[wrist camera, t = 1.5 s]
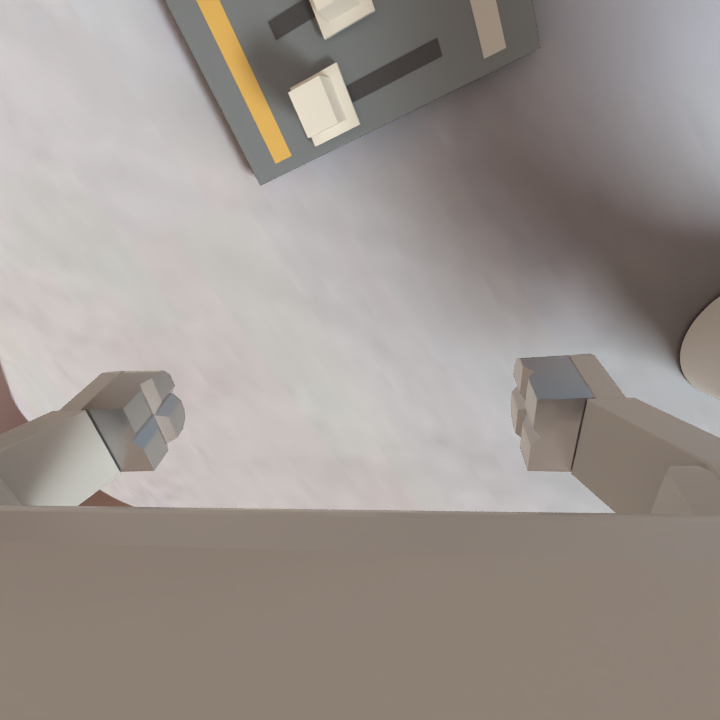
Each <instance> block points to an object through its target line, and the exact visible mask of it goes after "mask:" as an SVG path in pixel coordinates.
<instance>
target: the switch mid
mask: <svg viewBox="0 0 720 720" xmlns="http://www.w3.org/2000/svg"><path fill="white" fill-rule="evenodd" d="M309 1H310V3H311V6H312V9H313V11H314V14H315V16H316V19H317V22H318V24H319V27H320V29H321V32H322V35H323V37H324V39H325V40H326V39H328V38H330V37H332V36H333V35H335V34H337V33H338V32H340V31H342V30H344V29H345V28H347V27H349V26H350V25H352V24H354V23H355V22H357V21H359V20H361V19H362V18H364V17H366V16H367V15H369V14H371V13H373V12H374V11H375V8H374V5H373V2H372V0H309Z"/></svg>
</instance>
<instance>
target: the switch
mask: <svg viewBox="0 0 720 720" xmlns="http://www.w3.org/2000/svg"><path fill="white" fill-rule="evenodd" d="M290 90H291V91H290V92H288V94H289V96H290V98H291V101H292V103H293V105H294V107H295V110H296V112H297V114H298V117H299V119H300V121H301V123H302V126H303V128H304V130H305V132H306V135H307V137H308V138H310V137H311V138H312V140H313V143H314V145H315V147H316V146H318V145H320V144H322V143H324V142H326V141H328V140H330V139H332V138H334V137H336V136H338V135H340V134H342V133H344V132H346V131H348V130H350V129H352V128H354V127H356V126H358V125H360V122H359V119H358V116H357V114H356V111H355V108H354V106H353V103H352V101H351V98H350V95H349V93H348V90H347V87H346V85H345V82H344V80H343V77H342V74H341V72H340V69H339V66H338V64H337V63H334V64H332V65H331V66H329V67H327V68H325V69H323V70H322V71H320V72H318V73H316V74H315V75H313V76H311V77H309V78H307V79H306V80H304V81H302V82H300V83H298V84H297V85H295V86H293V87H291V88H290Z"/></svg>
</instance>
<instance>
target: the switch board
mask: <svg viewBox="0 0 720 720" xmlns="http://www.w3.org/2000/svg"><path fill="white" fill-rule="evenodd" d="M165 1H166V3H167V5H168V7H169V9H170V11H171V13H172V15H173V17H174V19H175V21H176V23H177V25H178V26H179V28H180V30H181V32H182V34H183V36H184V38H185V40H186V42H187V44H188V46H189V48H190V50H191V52H192V54H193V56H194V58H195V60H196V61H197V63H198V65H199V67H200V69H201V71H202V73H203V75H204V77H205V79H206V81H207V83H208V85H209V87H210V89H211V91H212V93H213V95H214V97H215V98H216V100H217V102H218V104H219V106H220V108H221V110H222V112H223V114H224V116H225V118H226V120H227V122H228V124H229V126H230V128H231V130H232V132H233V133H234V135H235V137H236V139H237V141H238V143H239V145H240V147H241V149H242V151H243V153H244V155H245V157H246V159H247V161H248V163H249V165H250V167H251V169H252V170H253V172H254V174H255V176H256V178H257V180H258V182H259V184H260V186H261V185H263V184H265V183H267V182H269V181H271V180H273V179H275V178H277V177H279V176H281V175H283V174H285V173H287V172H289V171H291V170H293V169H295V168H297V167H299V166H301V165H304V164H306V163H308V162H310V161H312V160H314V159H316V158H318V157H320V156H322V155H324V154H326V153H328V152H330V151H332V150H334V149H336V148H338V147H340V146H342V145H344V144H346V143H348V142H350V141H352V140H354V139H356V138H358V137H360V136H362V135H365V134H367V133H369V132H371V131H373V130H375V129H377V128H379V127H381V126H383V125H385V124H387V123H389V122H391V121H393V120H395V119H397V118H399V117H401V116H403V115H405V114H407V113H409V112H411V111H413V110H415V109H417V108H419V107H421V106H423V105H426V104H428V103H430V102H432V101H434V100H436V99H438V98H440V97H442V96H444V95H446V94H448V93H450V92H452V91H454V90H456V89H458V88H460V87H462V86H464V85H466V84H468V83H470V82H472V81H474V80H476V79H478V78H480V77H482V76H484V75H487V74H489V73H491V72H493V71H495V70H497V69H499V68H501V67H503V66H505V65H507V64H509V63H511V62H513V61H515V60H517V59H519V58H521V57H523V56H525V55H527V54H529V53H531V52H533V51H535V50H537V49H539V48H541V47H540V42H539V36H538V31H537V25H536V20H535V15H534V9H533V4H532V0H372V2H373V5H374V8H375V11H374V12H373V13H371V14H369V15H367V16H366V17H364V18H362V19H361V20H359V21H357V22H355V23H354V24H352V25H350V26H349V27H347V28H345V29H344V30H342V31H340V32H338V33H337V34H335V35H333V36H332V37H330V38H328V39H326V40H325V39H324V37H323V35H322V32H321V29H320V27H319V24H318V22H317V19H316V16H315V14H314V11H313V9H312V6H311V3H310V1H309V0H165ZM334 63H337V64H338V66H339V69H340V72H341V74H342V77H343V80H344V82H345V85H346V87H347V90H348V93H349V95H350V98H351V101H352V103H353V106H354V108H355V111H356V114H357V116H358V119H359V122H360V125H358V126H356V127H354V128H352V129H350V130H348V131H346V132H344V133H342V134H340V135H338V136H336V137H334V138H332V139H330V140H328V141H326V142H324V143H322V144H320V145H318V146H316V147H315V145H314V143H313V140H312V138H311V137H310V138H308V137H307V135H306V132H305V130H304V128H303V126H302V123H301V121H300V119H299V117H298V114H297V112H296V110H295V107H294V105H293V103H292V101H291V98H290V96H289V94H288V92H290V91H291V90H290V88H291V87H293V86H295V85H297V84H298V83H300V82H302V81H304V80H306V79H307V78H309V77H311V76H313V75H315V74H316V73H318V72H320V71H322V70H323V69H325V68H327V67H329V66H331V65H332V64H334Z"/></svg>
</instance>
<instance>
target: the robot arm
mask: <svg viewBox="0 0 720 720" xmlns="http://www.w3.org/2000/svg"><path fill="white" fill-rule="evenodd" d="M680 364H681V369H682V371H683V374H684V376H685V377H686V379H687V380H688V381H689V382H690V383H691V384H692V385H693V386H694V387H695V388H697V389H698V390H700V391H702V392H704V393H706V394H708V395H711V396H713V397H715V398H716V399H718V400H720V296H719V297H718V298H717V299H716V300H714V301H713V302H712V303H711V304H710V305H708V306H707V307H706V308H705V309H704V310H703V311H702V312H701V314H700V315H699V316H698V317H697V318H696V319H695V321H694V322H693V323H692V325H691V326H690V328H689V330H688V331H687V333H686V335H685V338H684V340H683V343H682V346H681V351H680ZM514 378H515V381H516V383H517V387H516V388H515V389H514V390H513V391H512V396H511V417H512V422H513V427H514V430H515V433H516V434H517V435H519V436H520V437H521V444H520V449H521V452H522V455H523V458H524V461H525V464H526V468H527V471H557V472H572V473H571V474H572V475H573V476H575V477H576V478H577V479H578V480H579V481H580V482H581V483H582V484H584V485H585V486H586V487H587V488H588V489H589V490H590V491H592V492H593V493H594V494H595V495H596V496H597V497H598V498H600V499H601V500H602V501H603V502H604V503H605V504H606V505H608V506H609V507H610V508H611V509H612V510H613V511H614V512H615V513H545V512H470V511H399V510H328V509H244V508H169V507H95V506H78V505H79V504H81V503H82V502H83V501H85V500H86V499H87V498H89V497H90V496H91V495H92V494H94V493H95V492H96V491H98V490H99V489H101V488H102V487H103V486H104V485H106V484H107V483H108V482H110V481H111V480H112V479H114V478H115V477H116V476H118V475H119V474H120V472H127V471H154V470H155V469H156V467H157V466H158V464H159V463H160V462H161V460H162V459H163V457H164V456H165V454H166V453H167V452H168V447H167V444H168V443H169V442H171V441H172V440H174V439H175V438H177V437H178V435H179V434H180V432H181V431H182V429H183V426H184V421H185V412H184V407H183V404H182V402H181V400H180V399H179V398H178V397H176V396H175V395H174V394H173V393H172V392H173V389H174V387H175V385H174V382H173V380H172V378H171V376H170V374H169V373H167V372H165V371H115V372H106V373H102V374H100V375H99V376H98V377H97V378H96V379H95V380H94V381H92V382H91V383H90V384H89V385H88V386H87V387H86V388H84V389H83V390H82V391H81V392H80V393H79V394H78V395H76V396H75V397H74V398H73V399H72V400H71V401H70V402H68V403H67V404H66V405H65V406H64V407H63V408H62V409H60V410H59V411H52V412H50V413H47V414H45V415H43V416H41V417H39V418H36V419H34V420H32V421H30V422H27V423H25V424H23V425H21V426H19V427H16V428H14V429H12V430H10V431H8V432H5V433H3V434H1V435H0V720H720V438H718V437H716V436H714V435H712V434H710V433H708V432H706V431H704V430H701V429H699V428H697V427H695V426H693V425H691V424H689V423H687V422H684V421H682V420H680V419H678V418H676V417H674V416H672V415H670V414H668V413H665V412H663V411H661V410H659V409H657V408H655V407H653V406H651V405H648V404H646V403H644V402H642V401H640V400H638V399H636V398H626V397H625V396H624V394H623V393H622V392H621V390H620V389H619V388H618V386H617V385H616V384H615V382H614V381H613V380H612V378H611V377H610V375H609V374H608V373H607V371H606V370H605V369H604V367H603V366H602V365H601V363H600V362H599V361H598V359H597V358H596V357H595V355H592V354H578V355H565V356H548V357H531V358H517V359H516V362H515V366H514Z"/></svg>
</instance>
